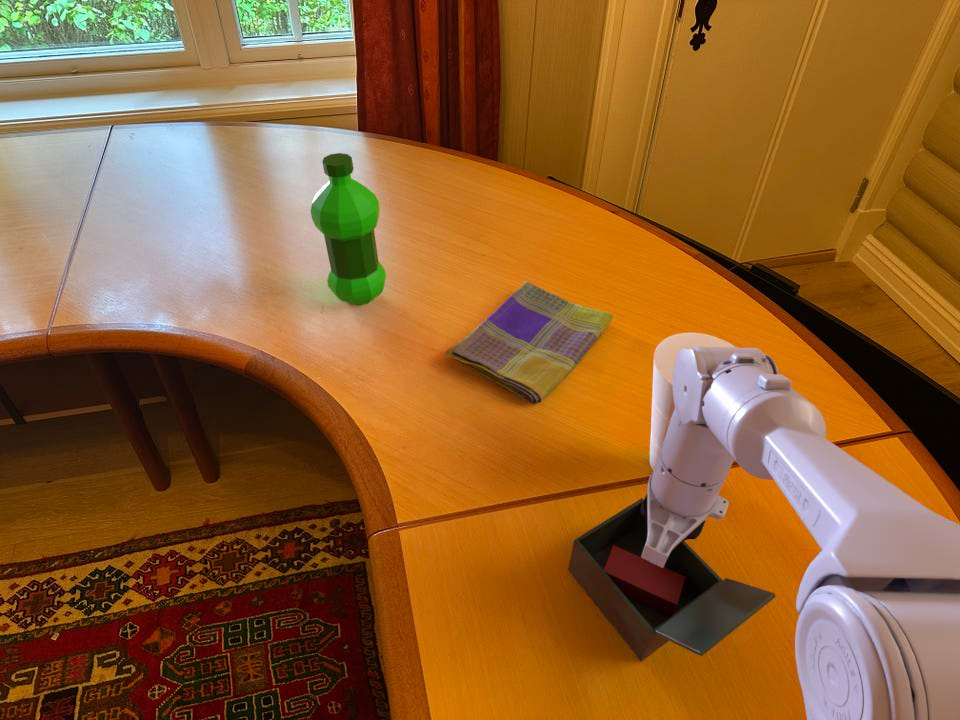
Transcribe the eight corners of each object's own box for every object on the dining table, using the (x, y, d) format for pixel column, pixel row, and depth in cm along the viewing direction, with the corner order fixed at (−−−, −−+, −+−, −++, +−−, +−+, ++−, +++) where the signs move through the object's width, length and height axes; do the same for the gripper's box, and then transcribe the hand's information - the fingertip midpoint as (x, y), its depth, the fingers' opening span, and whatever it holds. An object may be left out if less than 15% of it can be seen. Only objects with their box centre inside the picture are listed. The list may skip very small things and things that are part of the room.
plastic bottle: (375, 319, 101) (354, 179, 84) (319, 307, 103) (287, 169, 86) (399, 285, 108) (384, 150, 91) (346, 275, 110) (321, 141, 93)
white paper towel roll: (726, 467, 79) (772, 367, 66) (677, 513, 74) (717, 414, 61) (659, 420, 85) (690, 320, 72) (610, 460, 79) (634, 360, 67)
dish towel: (616, 326, 100) (619, 312, 98) (534, 413, 86) (535, 399, 84) (528, 287, 108) (529, 274, 106) (440, 361, 93) (439, 347, 92)
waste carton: (708, 610, 65) (724, 582, 60) (640, 662, 61) (653, 635, 57) (632, 528, 72) (642, 497, 68) (567, 569, 68) (573, 539, 64)
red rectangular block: (679, 590, 66) (685, 576, 64) (671, 618, 64) (677, 605, 62) (609, 558, 69) (613, 544, 67) (598, 584, 67) (602, 571, 65)
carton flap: (726, 577, 60) (727, 581, 60) (654, 630, 56) (656, 634, 56) (774, 592, 55) (776, 596, 55) (699, 652, 51) (701, 656, 51)
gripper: (718, 546, 46) (678, 624, 55) (761, 423, 55) (720, 507, 64) (630, 505, 49) (606, 586, 58) (685, 394, 58) (656, 479, 67)
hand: (661, 542), depth 61 cm, fingers closed
